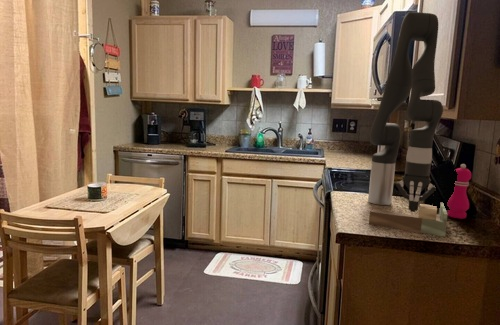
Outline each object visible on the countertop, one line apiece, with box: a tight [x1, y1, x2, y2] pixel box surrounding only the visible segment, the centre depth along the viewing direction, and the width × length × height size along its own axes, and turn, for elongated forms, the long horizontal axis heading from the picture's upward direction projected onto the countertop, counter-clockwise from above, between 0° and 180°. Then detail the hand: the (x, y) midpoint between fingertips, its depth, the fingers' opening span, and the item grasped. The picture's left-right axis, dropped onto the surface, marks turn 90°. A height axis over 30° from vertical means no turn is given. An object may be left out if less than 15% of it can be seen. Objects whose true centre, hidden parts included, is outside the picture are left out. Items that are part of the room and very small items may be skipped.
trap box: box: [368, 202, 448, 237], centre depth 127 cm, size 17×23×7 cm
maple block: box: [418, 203, 438, 220], centre depth 121 cm, size 5×5×5 cm
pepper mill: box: [447, 163, 472, 220], centre depth 136 cm, size 7×7×20 cm
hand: (412, 211), depth 123 cm, fingers closed
